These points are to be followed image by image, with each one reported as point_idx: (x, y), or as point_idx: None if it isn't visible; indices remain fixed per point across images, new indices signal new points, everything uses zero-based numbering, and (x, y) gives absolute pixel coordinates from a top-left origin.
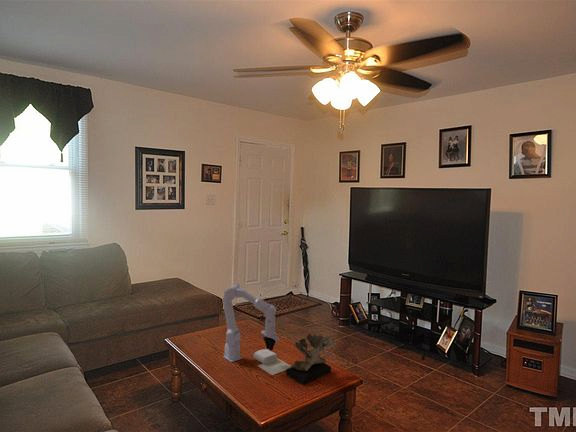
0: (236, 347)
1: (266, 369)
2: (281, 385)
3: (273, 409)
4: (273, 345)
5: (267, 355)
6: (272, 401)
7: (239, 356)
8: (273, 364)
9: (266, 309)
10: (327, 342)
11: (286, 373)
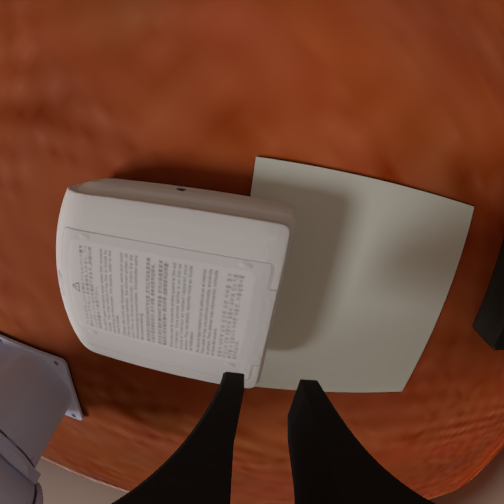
0: (36, 455)
1: (324, 379)
2: (474, 400)
3: (475, 464)
4: (343, 438)
5: (237, 343)
6: (465, 457)
7: (48, 370)
8: (317, 290)
9: None
10: None
11: (479, 334)
